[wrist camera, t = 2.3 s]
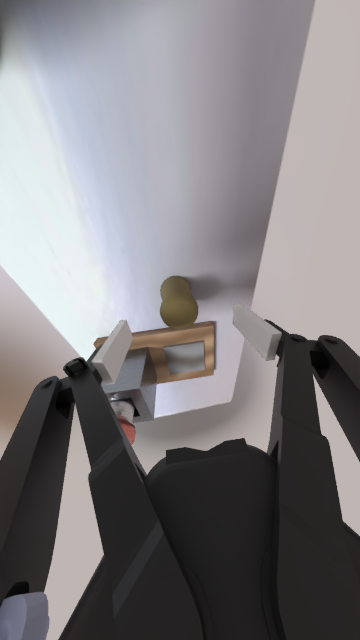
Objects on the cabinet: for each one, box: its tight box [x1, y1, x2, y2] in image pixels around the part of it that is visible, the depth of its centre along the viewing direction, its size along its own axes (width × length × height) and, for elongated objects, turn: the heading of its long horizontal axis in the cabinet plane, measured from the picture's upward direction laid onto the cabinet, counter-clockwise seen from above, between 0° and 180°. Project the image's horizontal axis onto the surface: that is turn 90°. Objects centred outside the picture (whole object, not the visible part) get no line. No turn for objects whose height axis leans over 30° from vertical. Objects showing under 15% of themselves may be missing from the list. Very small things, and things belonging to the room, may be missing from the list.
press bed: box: [94, 321, 214, 384], centre depth 33 cm, size 16×26×3 cm, turn 97°
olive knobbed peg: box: [160, 276, 198, 329], centre depth 21 cm, size 6×6×11 cm
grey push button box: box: [101, 347, 157, 423], centre depth 28 cm, size 10×10×10 cm
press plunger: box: [109, 398, 136, 445], centre depth 24 cm, size 7×7×9 cm
